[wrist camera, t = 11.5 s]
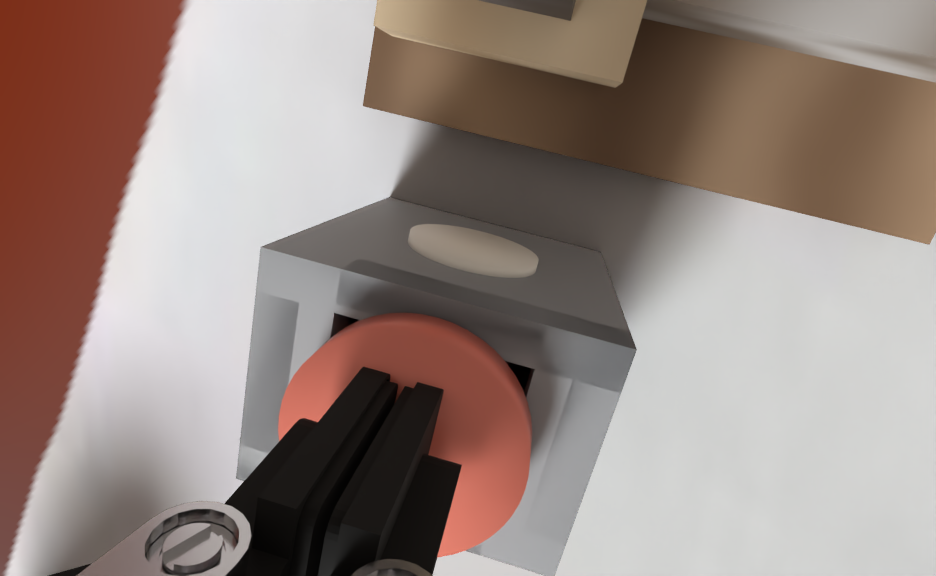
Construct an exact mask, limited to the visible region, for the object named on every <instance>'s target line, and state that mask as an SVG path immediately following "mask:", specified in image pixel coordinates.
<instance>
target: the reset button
mask: <svg viewBox="0 0 936 576" xmlns="http://www.w3.org/2000/svg"><path fill="white" fill-rule="evenodd" d="M362 367H367V368H371V369H374V370H378V371H381V372H385V373H388V374H390V382H393V383H397V384H398V390H397V395H396V400H395V402H396V401H397V399H398V397H399V395H400V394H401V392H402V390H403V388H404V387H405V386H407V387H411V388H414V387H415V385H416V383H417V382H420V383H423V384H427V385H430V386H434V387H437V388H441V389H444V392H443V396H442V401H441V405H440V409H439V413H438V417H437V421H436V425H435V429H434V434H433V438H432V442H431V446H430V450H429V454H428V455H430V456H434V457H437V458H441V459H444V460H447V461H451V462H454V463H457V464H461V465H462V467H461V471H460V474H459V478H458V482H457V486H456V489H455V493H454V497H453V501H452V504H451V508H450V512H449V516H448V519H447V523H446V527H445V530H444V534H443V538H442V541H441V545H440V549H439V552H438V556H437V557H442V556H447V555H452V554H456V553H459V552H462V551H465V550H468V549H470V548H472V547H474V546H476V545H478V544H481V543H482V542H484V541H485V540H487V539H488V538H490V537H491V536H493V535H494V534H495V533H496V532H497V531H498V530H500V529H501V528H502V527H503V526H504V525H505V524H506V522H507V521H508V520H509V519H510V518H511V516H512V515H513V514H514V512H515V510H516V509H517V507H518V505H519V504H520V502H521V499H522V497H523V494H524V492H525V489H526V485H527V481H528V477H529V467H530V455H531V442H532V422H531V414H530V410H529V405H528V402H527V399H526V396H525V394H524V391H523V388H522V387H521V385H520V383H519V381H518V379H517V377H516V375H515V374H514V373H513V371H512V370H511V368H510V367H509V366H508V364H507V363H506V362H505V360H504V359H503V358H502V357H501V356H500V355H499V354H498V353H497V352H496V351H495V350H494V349H493V348H492V347H491V346H489V345H488V344H487V343H486V342H485V341H483V340H482V339H481V338H479V337H478V336H476V335H475V334H473V333H471V332H470V331H468V330H467V329H464V328H462V327H460V326H458V325H456V324H454V323H452V322H449V321H446V320H443V319H440V318H437V317H433V316H428V315H424V314H416V313H387V314H382V315H376V316H372V317H369V318H366V319H362V320H359V321H357V322H355V323H353V324H351V325H349V326H347V327H345V328H344V329H342V330H341V331H339V332H338V333H336V334H335V335H334V336H333V337H332V338H330V339H329V340H328V341H327V342H326V343H325V344H324V345H323V346H322V347H321V348H319V349H318V350H317V351H316V352H315V353H314V354H313V355H312V356H311V357H310V358H309V359H307V360H306V361H305V362H304V363H303V364H302V366H301V367H300V368H299V369H298V371H297V372H296V373H295V374H294V376H293V378H292V379H291V381H290V383H289V385H288V387H287V389H286V391H285V394H284V397H283V399H282V403H281V407H280V412H279V422H278V434H279V441H280V440H281V439H282V438H283V437H284V435H285V434H286V433H287V432H288V431H289V430H290V429H291V427H292V426H293V425H294V424H295V423H296V422H297V421H298V420H299V419H301V418H306V419H309V420H312V421H316V422H319V420H320V419H321V418H322V417H323V415H324V414H325V413H326V412H327V410H328V409H329V408H330V407H331V405H332V404H333V403H334V402H335V400H336V399H337V398H338V397H339V395H340V394H341V393H342V392H343V390H344V389H345V388H346V387H347V386H348V384H349V383H350V382H351V381H352V379H353V378H354V377H355V376H356V374H357V373H358V372H359V371H360V369H361V368H362Z"/></svg>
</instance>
